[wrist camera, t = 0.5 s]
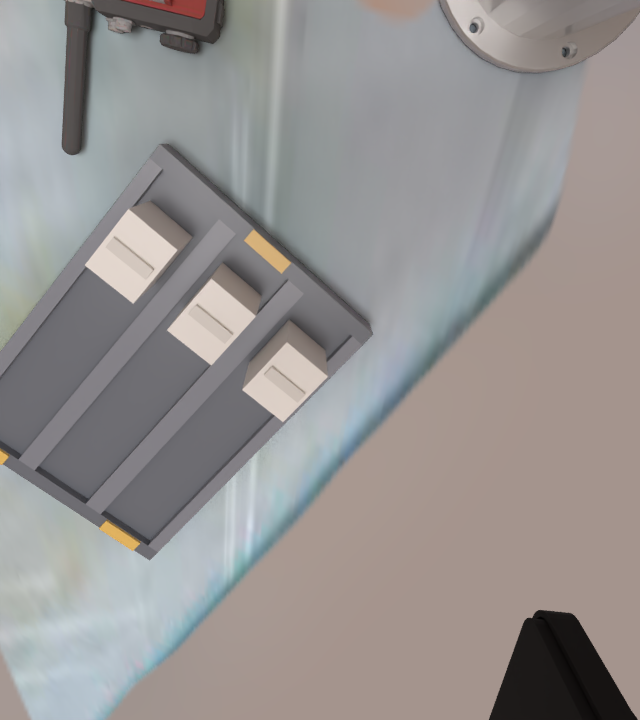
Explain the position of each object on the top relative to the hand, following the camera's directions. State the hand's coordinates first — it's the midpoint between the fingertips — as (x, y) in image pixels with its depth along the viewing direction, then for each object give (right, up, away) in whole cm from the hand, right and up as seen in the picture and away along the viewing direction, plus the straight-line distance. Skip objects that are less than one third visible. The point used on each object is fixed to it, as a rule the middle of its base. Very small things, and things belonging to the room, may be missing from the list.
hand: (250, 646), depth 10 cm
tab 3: (-1, +5, +28) cm, 28 cm away
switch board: (-10, +4, +30) cm, 32 cm away
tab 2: (-5, +9, +27) cm, 28 cm away
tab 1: (-9, +12, +25) cm, 29 cm away
